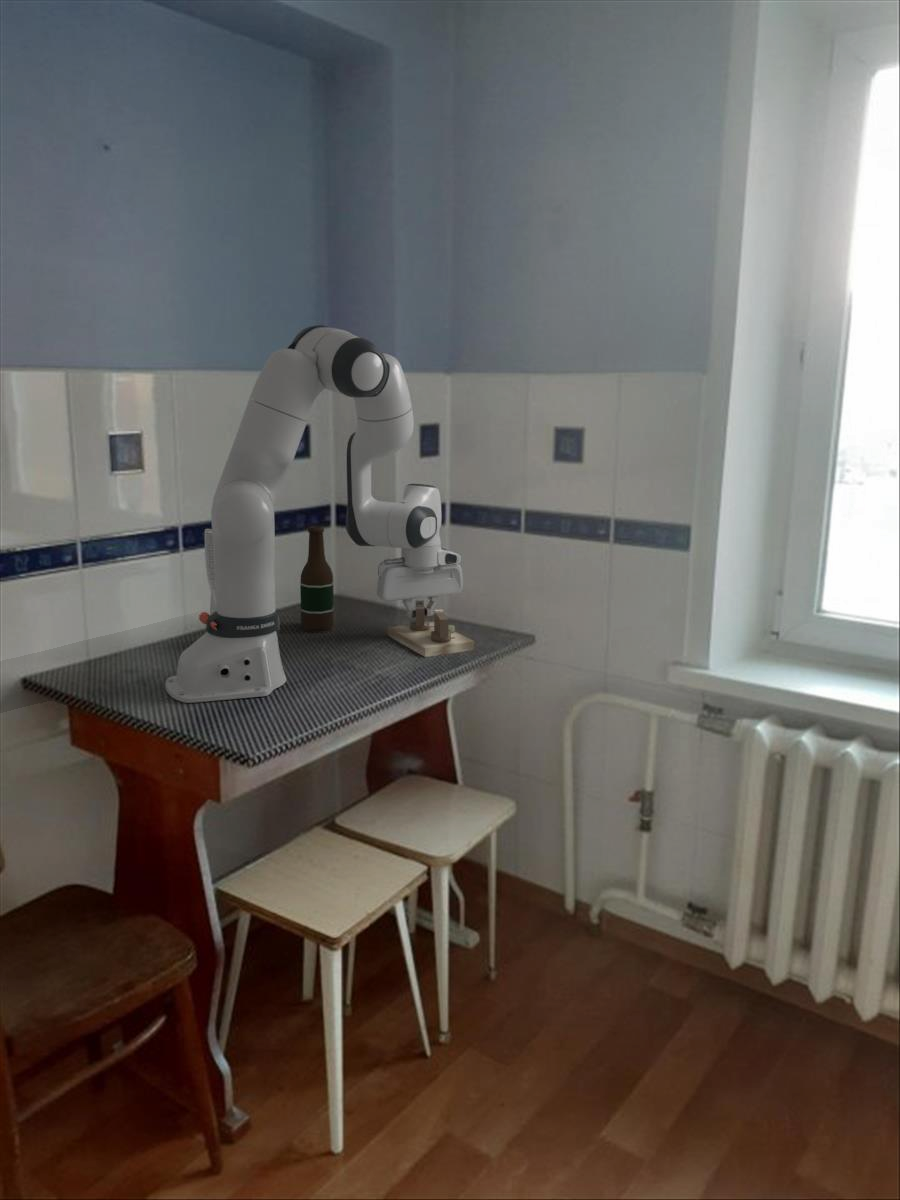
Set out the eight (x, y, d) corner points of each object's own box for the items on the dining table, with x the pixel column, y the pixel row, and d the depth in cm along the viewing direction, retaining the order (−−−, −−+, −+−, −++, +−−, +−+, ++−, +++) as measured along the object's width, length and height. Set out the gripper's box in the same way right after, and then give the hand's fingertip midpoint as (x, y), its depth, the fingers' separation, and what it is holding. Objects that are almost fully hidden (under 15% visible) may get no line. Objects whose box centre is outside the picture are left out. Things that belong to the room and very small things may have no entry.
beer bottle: (338, 630, 215) (337, 528, 209) (305, 633, 212) (303, 530, 206) (329, 622, 222) (328, 523, 216) (297, 625, 219) (295, 524, 213)
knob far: (430, 632, 208) (430, 607, 206) (410, 632, 207) (410, 607, 206) (428, 624, 215) (429, 599, 213) (409, 623, 214) (409, 599, 213)
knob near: (454, 643, 200) (454, 617, 198) (433, 644, 199) (434, 618, 197) (447, 634, 206) (448, 609, 205) (428, 635, 205) (428, 610, 204)
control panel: (425, 657, 197) (425, 640, 196) (388, 635, 212) (388, 620, 211) (474, 649, 203) (474, 634, 202) (434, 629, 218) (434, 614, 217)
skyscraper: (251, 643, 206) (247, 517, 199) (239, 653, 198) (234, 523, 191) (214, 641, 206) (208, 516, 199) (201, 652, 198) (195, 522, 192)
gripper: (384, 562, 199) (383, 624, 202) (467, 555, 209) (465, 615, 212) (372, 557, 204) (372, 617, 208) (453, 550, 214) (452, 608, 217)
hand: (419, 616), depth 210 cm, fingers closed on knob far, 3 cm apart
